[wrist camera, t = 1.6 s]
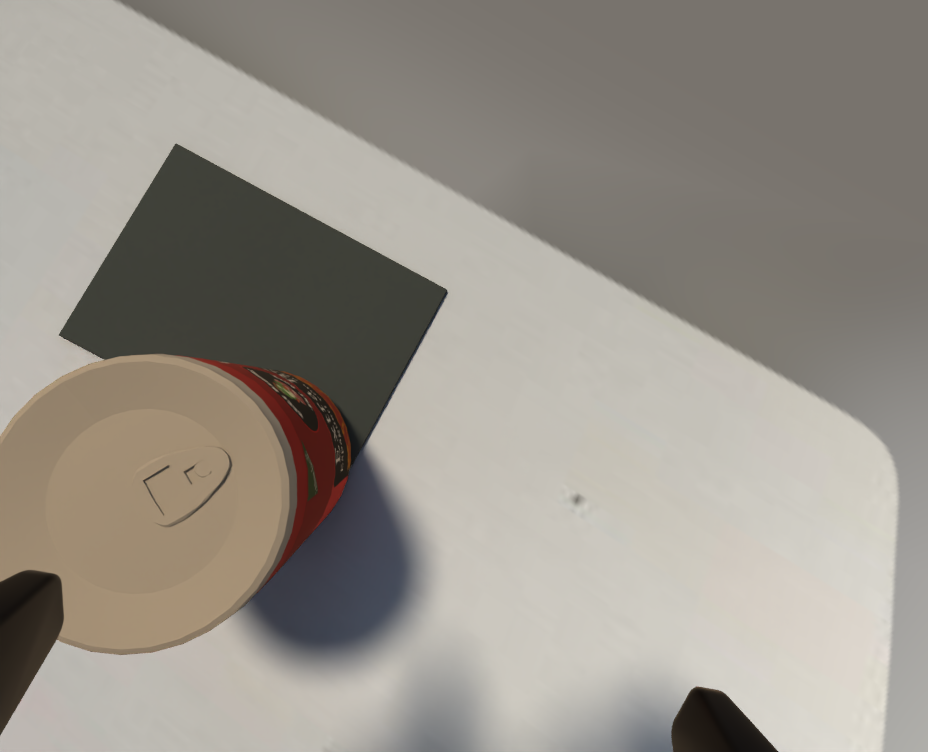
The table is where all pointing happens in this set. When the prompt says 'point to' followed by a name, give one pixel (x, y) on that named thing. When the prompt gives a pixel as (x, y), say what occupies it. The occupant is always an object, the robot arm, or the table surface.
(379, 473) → the table surface
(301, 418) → the canned food
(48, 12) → the table surface
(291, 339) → the mat
